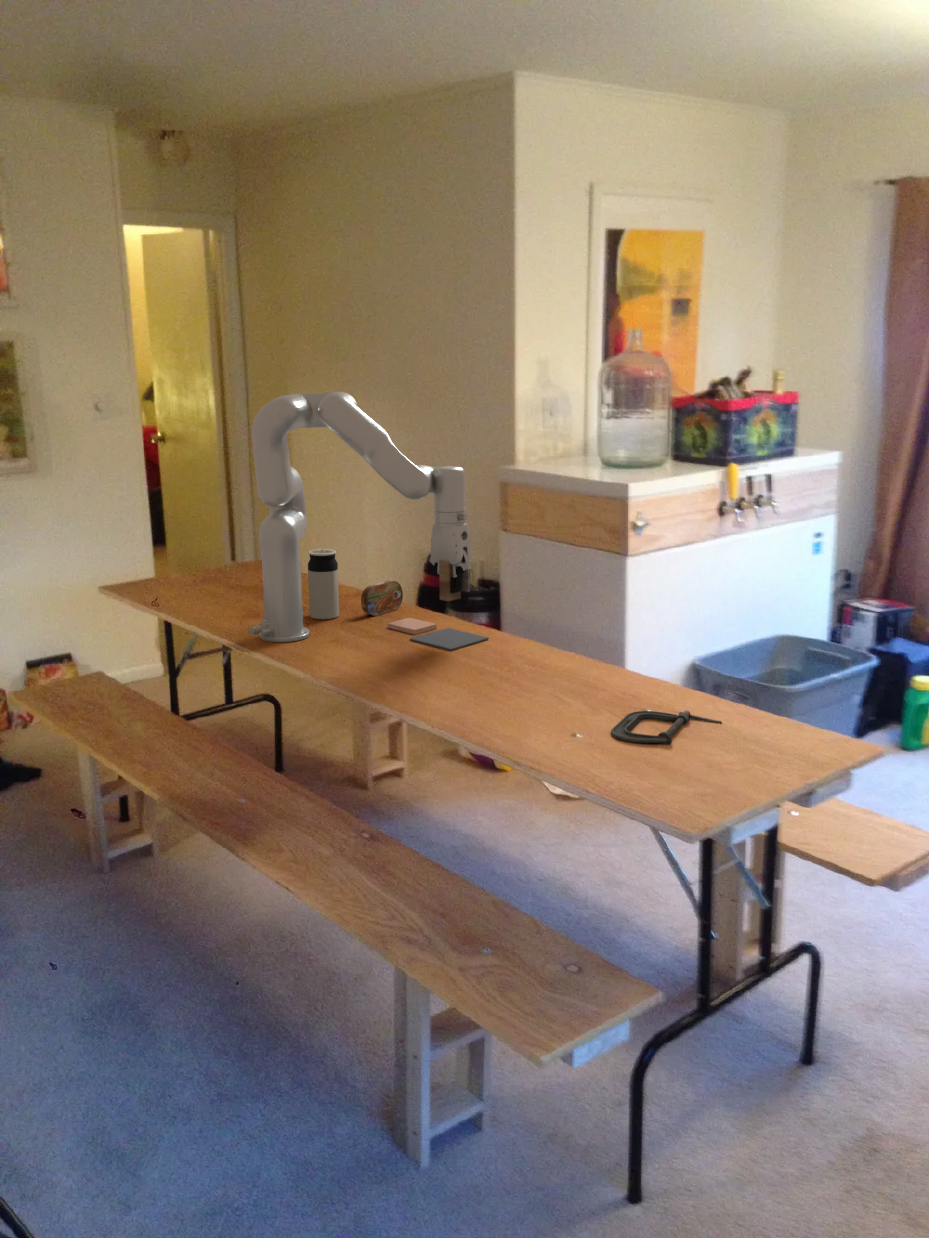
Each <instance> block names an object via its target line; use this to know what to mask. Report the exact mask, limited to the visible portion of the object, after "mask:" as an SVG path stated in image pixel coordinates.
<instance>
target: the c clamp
mask: <svg viewBox="0 0 929 1238" xmlns="http://www.w3.org/2000/svg"><path fill="white" fill-rule="evenodd" d="M690 719H693V720H697V721H701V720H704V721H703V722H707V721H708V722H709V723H713V722H714V724H718V723H720V725H722V723H723V722H722V720H715V719H713V718H707V717H703V716H698V715H693V714H691V712H690V711H689V710H684V711H683V712H682V711H680V712H678V715H677V714H674V713H668V712H661V711H653V710H639V711H633V712H630V713H628V714H626V715H625V716H624V717H623V718H622V719H621V720H620V721H618V723H617V724H616V725H615V726H614V727H612V729H611V730H610V734H611V736H612V737H613V738H615V739H616V740H619V741H623V742H630V743H637V744H638V743H639V744H662V745H663V744H664V745H668V746H669V745H671V744H672V742H673V741H672V737H673V736H674V735H675V734H676V732H677V731H678V730H679V729H680V728H681V727H682V725H687V723H688V722H689V720H690ZM643 720H653V721H661V722H667V723H672V724H671V726H670V727H669V728H668V729H667V730H666V731H661V732H659V733H658V734H657V735H651V734H644V733H635V732H631V730H632V729H634V728H635V726H636V725H637V724H638V723H640V721H643Z"/></svg>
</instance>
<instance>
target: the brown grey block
mask: <svg viewBox="0 0 929 1238" xmlns="http://www.w3.org/2000/svg"><path fill="white" fill-rule="evenodd" d="M457 569H458V567H457ZM439 574H440V575H439V600H441V601H444V602H452V601H456V600H459V599H461V597H462V596H461V592H464V593H465V592H466V593H469V592H471V568H470V569H468V570H466V571H465V572H464V573H463V576H461V591H460V592H456V593H451V577H453V576H452V566H451V565H450V564H449V561H443V560H439Z"/></svg>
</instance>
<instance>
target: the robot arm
mask: <svg viewBox="0 0 929 1238" xmlns="http://www.w3.org/2000/svg"><path fill="white" fill-rule="evenodd" d="M251 428H252V429H251V441H252V449H253V457H254V460H253V461H254V467H255V468H254V469H255V470H254V471H255V478H256V487H257V488H256V490H257V494H258V497H259V499H260V500H261V501H262V503H263V504H264V505H266V506H268V512H269V513H268V514H269V515H267V516H266V517H265V518H264V519H263V520H262V522H261V524H260V527H259V531H258V542H259V543H258V544H259V549H260V555H261V564H262V565H261V566H262V567H261V568H262V569H261V570H262V585H263V607H264V608H263V611H264V619H261V620H260V621H261V622H260V624H259V625H256V626H250V627H249V630H248V632H249V634H250V635H251V636H253V635H258V634H259V636H258V637H259V638H260V639H261V640H263V641H266V642H267V641H268V642H273V643H274V642H275V643H290V642H297V641H301V640H305V639H307V638H309V636H310V633H311V632H310V630H309V629H308V628H307V627H305V626H304V613H303V611H304V610H303V607H304V605H303V584H302V583H303V582H302V581H303V580H302V579H303V578H302V565H301V564H302V563H301V554H300V553H301V552H300V547H299V546H300V545H299V542H300V541H301V540H302V539H304V536H305V535H306V532H307V529H308V519H307V518H308V516H307V509H306V508H307V505H306V497H305V491H304V489H305V488H304V483H303V480H302V477H301V475H300V473H299V472H298V471H297V470H296V469H295V467H292V466H291V460H290V450H289V449H290V448H289V444H288V441H287V440H288V439H287V438H288V434H289V433H290V432H293V431H295V430H299V429H306V428H307V429H309V428H312V429H313V428H327V429H328V430H330V431H331V432H332V433H333V434H334V435H336V436H337V437H338V438H339V439H340V440H342V441H343V442H344V443H345V444H347V446H348V447H350V448H351V449H352V450H353V451H354V452H356V453H357V454H358V456H360V457H361V458H362V459H363V460H364V461H365V463H367V465H369V467H371V468H372V469H373V470H374V471H375V472H376V473H377V474H378V475H379V476H380V477H381V478H382V479H383V480H384V481H386V483H387V484H389V485H390V486H391V487H392V488H393V489H394V490H396V491H397V492H398V493H400V494H401V496H404V497H405V498H406V499H408V500H410V501H411V500H412V501H419V500H422V499H424V498H425V497H426V496H428V495H433V500H434V501H433V504H434V505H433V506H434V507H433V508H434V509H433V510H434V512H433V514H434V516H433V517H434V520H433V522H432V528H431V536H430V557H429V560H428V561H429V563H430V564H432V566H434V568H435V570H436V573H437V575H439V576H440V574H439V560H443V561H449V564H450V565H451V566H452V576H453V577H451V593H456V592H460V591H461V576H463V573H464V572H465V571H466V570H468V569H470V570H471V569H472V564H471V562H472V542H471V534H470V530H469V525H468V523H466V521H467V520H468V516H467V515H466V472H465V470H464V468H463V467H460V466H454V465H448V466H447V465H446V466H431V465H427V464H426V465H425V464H414V463H413V462H412V461H411V460H410V459H408V458H407V457H406V456H405V455H404V454H403V453H402V452H401V451H400V450H399V449H398V448H397V447H396V446H395V444H394V442H392V441H393V440H392V439H391V437H390V436H389V433H388V432H387V431H386V429H384V428H383V427H382V426H381V425H380V424H379V423H377V422H376V421H375V420H374V419H373V418H371V417H370V416H369V415H368V414H367V413H365V412H364V411H363V410H362V409H361V408H360V407H359V406H358V403H357V401H356V400H355V398H354V397H353V396H352V395H351V394H349V393H347V392H346V391H332V392H312V393H311V392H310V393H291V394H286V395H285V394H284V395H281V396H278V397H275V398H274V399H272V400H270V401H269V402H267V403H266V404H264V405H263V406H262V407H261V408H260V409H259V410H258V411H257V414H256V415H255V417H254V420H253V422H252V427H251ZM457 567H458V569H457ZM461 592H462V591H461Z"/></svg>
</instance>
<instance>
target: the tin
mask: <svg viewBox="0 0 929 1238" xmlns="http://www.w3.org/2000/svg"><path fill="white" fill-rule="evenodd" d="M403 594H404V592H403V588H402V586H401V584H400V583H399V582H398V581H396V580H386V581H382V582H378V583H376V584H375V583H374V584H371V585H369V586H366V587H365V588H364V589H363V592H362V593H361V596H360V602H361V608H362V611H363V613H364V614H366V615H368V616H374V617H378V616H381V615H384V614H387V613H391V612H394V611H397V610H398V609H399V608H400V607H401V604H402V602H403V598H404V595H403Z"/></svg>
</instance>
